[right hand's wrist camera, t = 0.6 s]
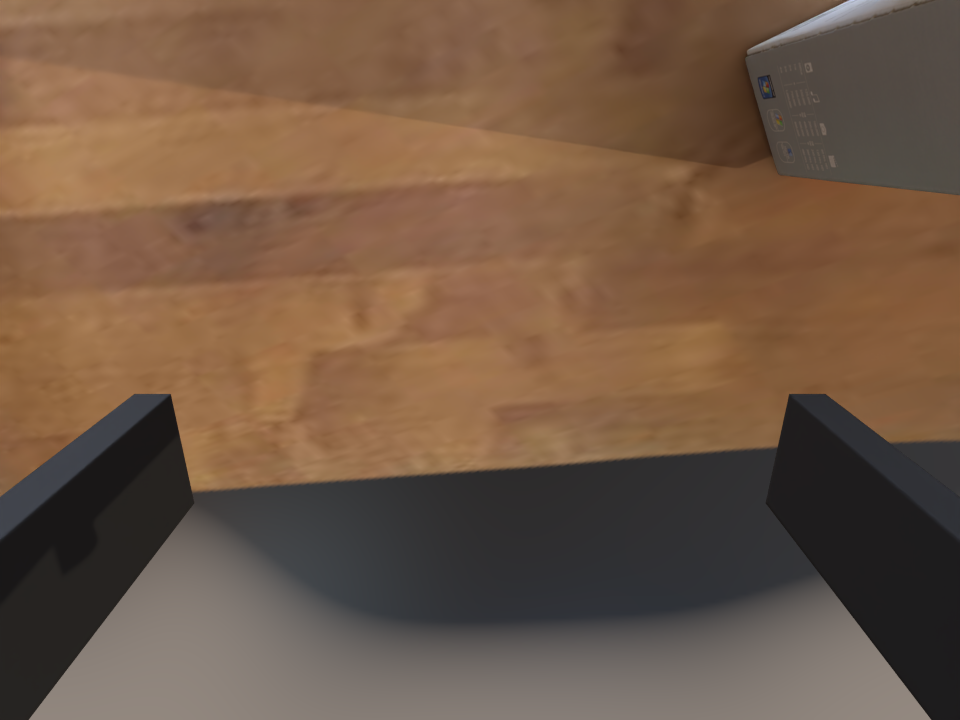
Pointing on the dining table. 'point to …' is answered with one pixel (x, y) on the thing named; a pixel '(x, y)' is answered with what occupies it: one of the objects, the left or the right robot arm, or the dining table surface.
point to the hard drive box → (865, 95)
